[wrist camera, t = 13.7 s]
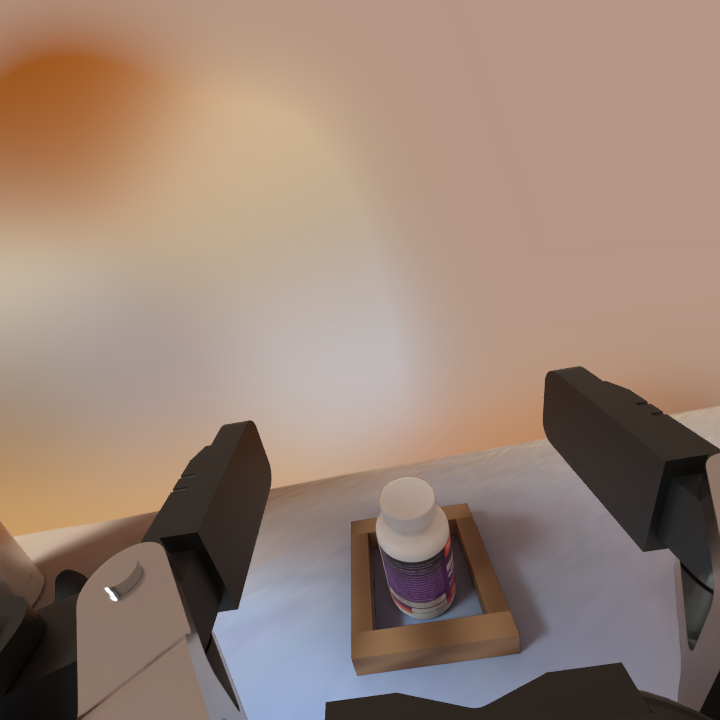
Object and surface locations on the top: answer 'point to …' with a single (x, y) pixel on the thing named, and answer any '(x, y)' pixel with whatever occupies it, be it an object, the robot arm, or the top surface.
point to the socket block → (433, 638)
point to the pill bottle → (415, 548)
